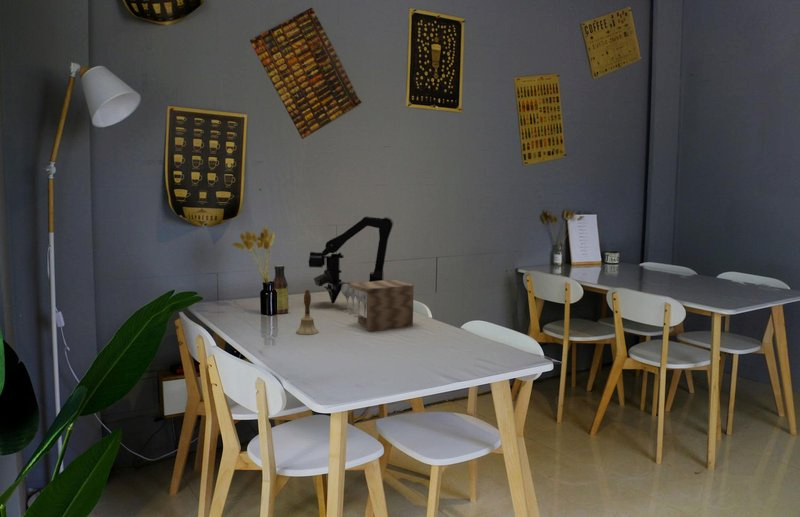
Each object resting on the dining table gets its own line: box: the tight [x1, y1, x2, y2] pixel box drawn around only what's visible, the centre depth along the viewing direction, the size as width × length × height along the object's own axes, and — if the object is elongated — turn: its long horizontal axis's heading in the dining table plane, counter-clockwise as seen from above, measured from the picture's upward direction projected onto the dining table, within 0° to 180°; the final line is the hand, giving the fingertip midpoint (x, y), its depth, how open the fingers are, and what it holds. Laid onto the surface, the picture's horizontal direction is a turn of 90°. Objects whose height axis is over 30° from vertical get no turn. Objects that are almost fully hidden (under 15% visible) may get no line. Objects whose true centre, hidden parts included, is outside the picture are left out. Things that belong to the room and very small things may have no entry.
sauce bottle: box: [272, 264, 289, 315], centre depth 280 cm, size 6×6×20 cm
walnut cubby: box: [349, 279, 415, 333], centre depth 261 cm, size 20×15×16 cm
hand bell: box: [295, 289, 319, 336], centre depth 248 cm, size 8×8×16 cm
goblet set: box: [340, 281, 367, 318], centre depth 276 cm, size 28×6×13 cm, turn 29°
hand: (333, 302), depth 295 cm, fingers closed
